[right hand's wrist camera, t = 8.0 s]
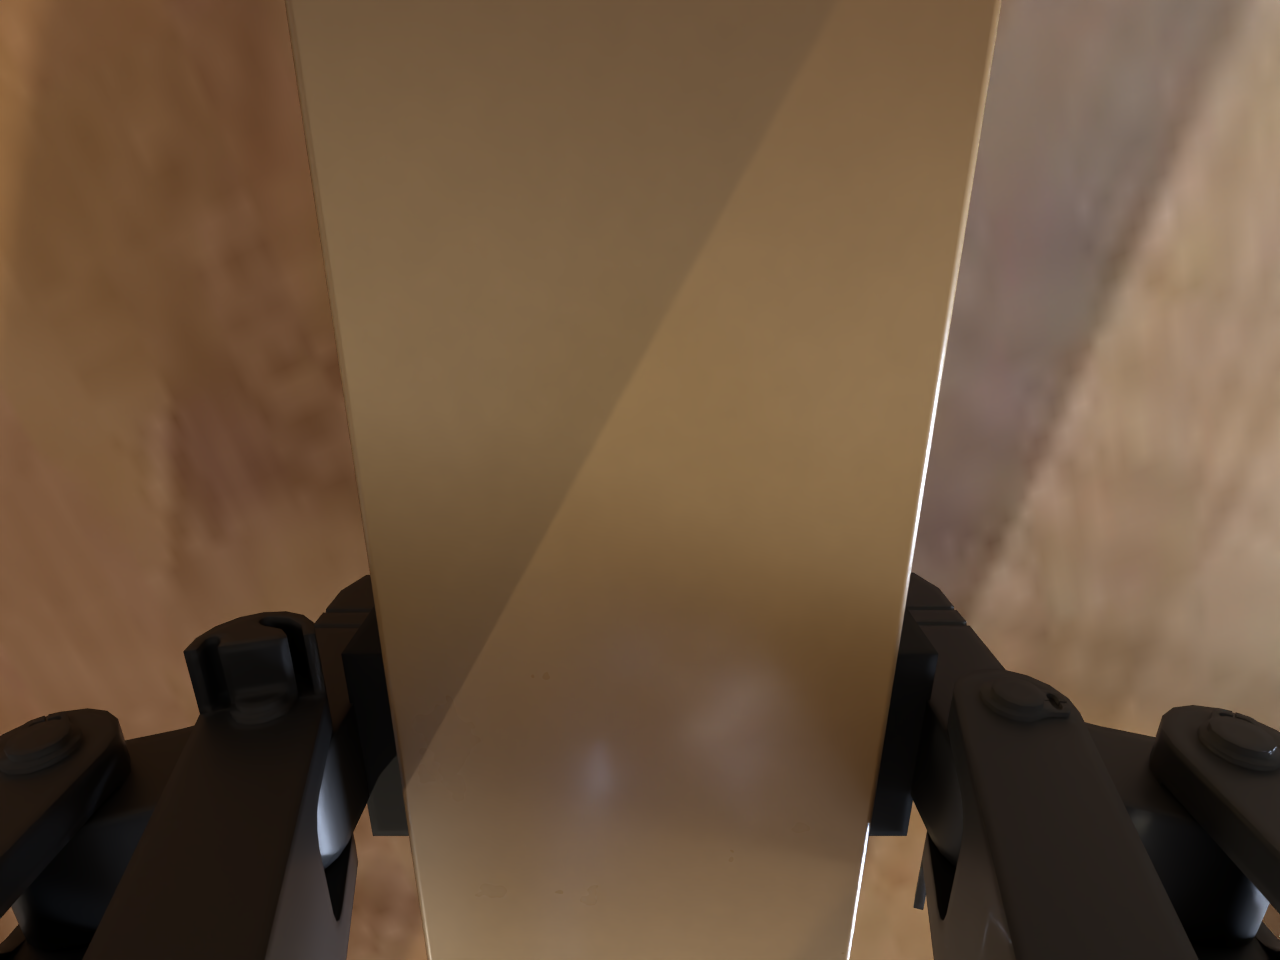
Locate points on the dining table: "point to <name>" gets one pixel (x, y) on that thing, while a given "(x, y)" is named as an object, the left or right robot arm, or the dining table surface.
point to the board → (641, 438)
